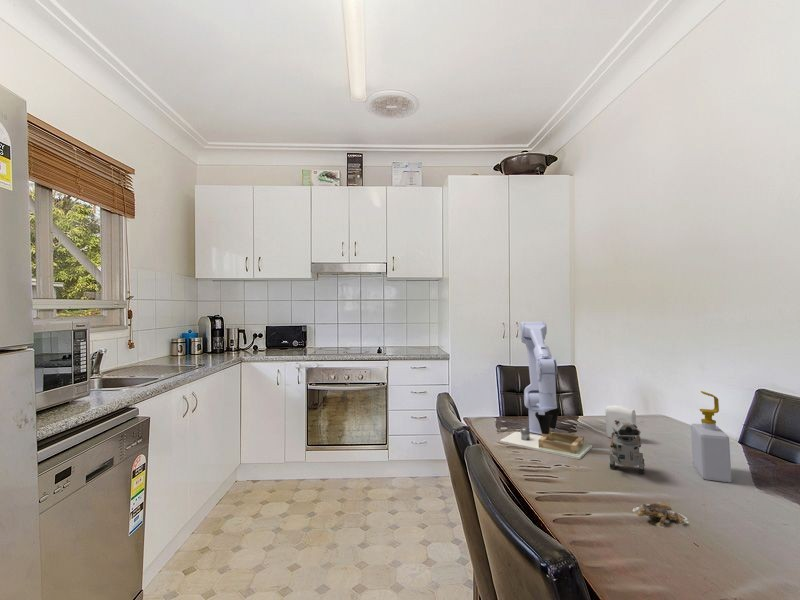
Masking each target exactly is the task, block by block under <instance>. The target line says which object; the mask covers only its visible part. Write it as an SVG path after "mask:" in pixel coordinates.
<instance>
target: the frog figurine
mask: <svg viewBox="0 0 800 600" xmlns="http://www.w3.org/2000/svg"><path fill="white" fill-rule="evenodd" d="M636 511H637V512H636ZM632 512H636V515H637V517H643V518H644V517H645V518H647V519H648V521H652V520H655V521H659V522H656V523H655V524H654V525H655V526H656V527H658V528H661V529H662V528H665V527H666V525H665V524H666V523H667V524H670V522H672V521H673V520H675V523H676V524H677V525H679V526H684V525H685V524H689V521H688V518H687V516H685V515H684V514H682V513H680V512H675V511H673V509H672V507H671V506H670V504H667V503H666V502H665V501H661V502H656V503H650V504H648V503H643V505H636V506H635V507H633V509H632ZM664 523H665V524H664Z"/></svg>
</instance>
